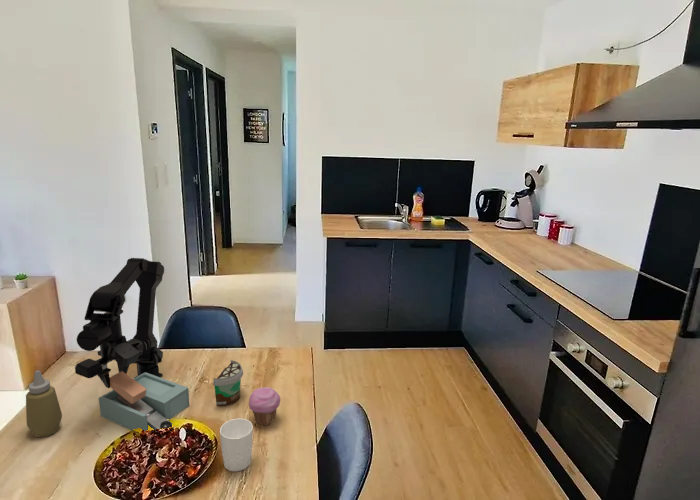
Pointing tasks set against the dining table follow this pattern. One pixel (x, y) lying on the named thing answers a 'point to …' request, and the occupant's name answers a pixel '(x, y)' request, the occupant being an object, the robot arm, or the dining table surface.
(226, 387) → the food container
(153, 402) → the jig
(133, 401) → the salmon orange rectangular block
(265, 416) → the cupcake
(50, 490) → the dining table surface
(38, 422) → the squeeze bottle
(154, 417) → the lever
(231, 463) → the white cup
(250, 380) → the dining table surface
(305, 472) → the dining table surface
